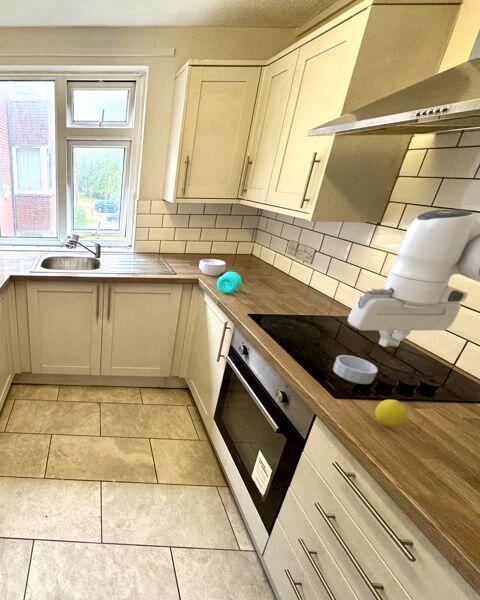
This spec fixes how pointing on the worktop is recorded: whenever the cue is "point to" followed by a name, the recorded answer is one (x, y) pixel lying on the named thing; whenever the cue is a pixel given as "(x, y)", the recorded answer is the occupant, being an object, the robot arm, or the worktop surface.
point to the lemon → (391, 413)
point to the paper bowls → (212, 266)
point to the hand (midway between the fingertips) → (387, 345)
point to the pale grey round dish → (355, 369)
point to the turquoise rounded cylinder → (225, 285)
